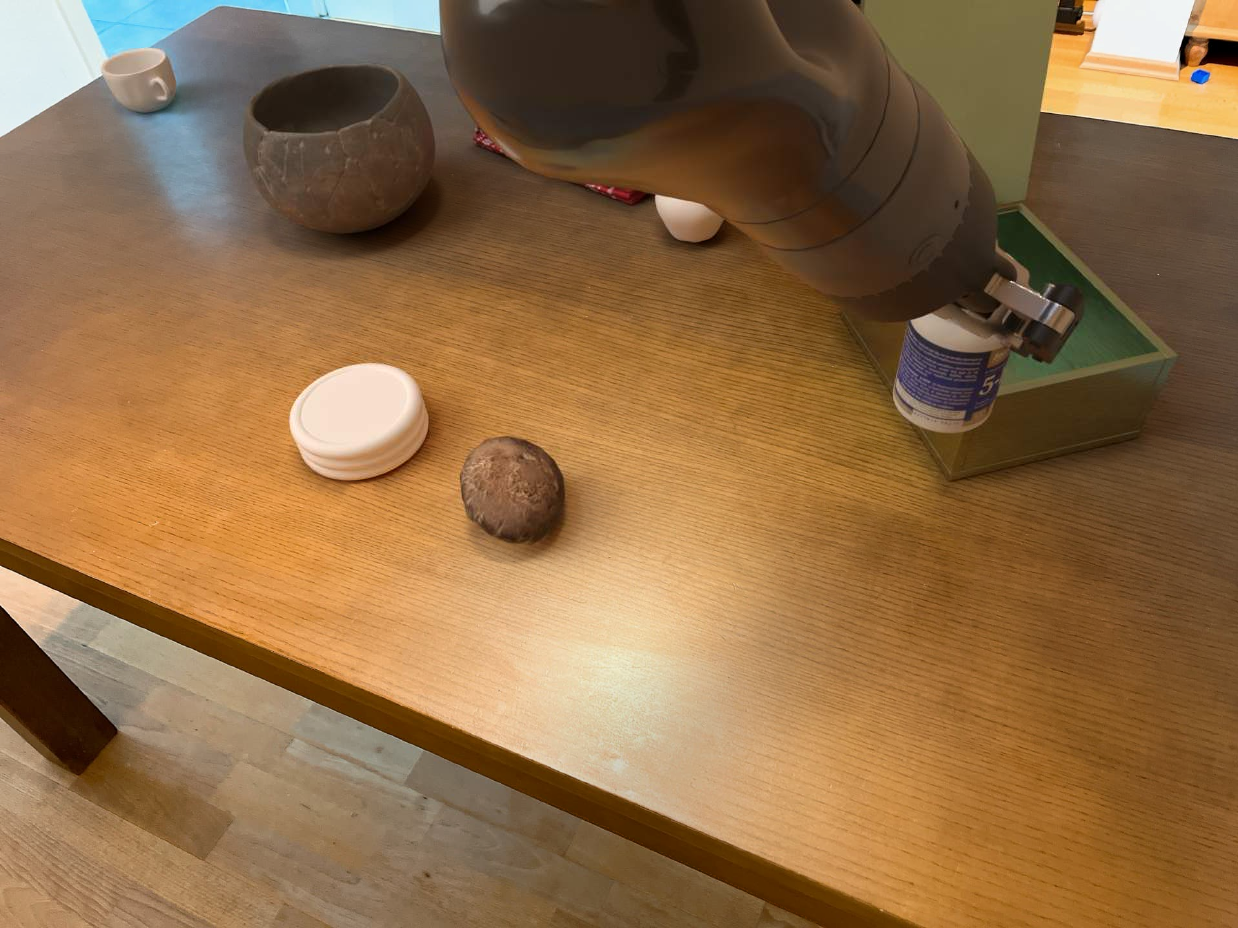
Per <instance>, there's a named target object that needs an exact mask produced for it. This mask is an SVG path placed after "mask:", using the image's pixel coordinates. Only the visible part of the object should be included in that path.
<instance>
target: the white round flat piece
mask: <svg viewBox="0 0 1238 928" xmlns="http://www.w3.org/2000/svg"><path fill="white" fill-rule="evenodd" d="M288 420H289V422H288V423H289V430H290V433H291V437H292V438H293V441H295V445H296V447H297V449H298V451H299V452H300V456H301V457H302V460H303V461H304V462H305V464H306V465H307V466H308V467H309V468H311V470H313V471H314V472H315V473H317V474H319V475H321V476H323V477H326V478H329V479H333V480H339V481H340V480H341V481H358V480H359V481H360V480H366V479H370V478H374V477H377V476H381V475H384V474H386V473H388V472H390V471H392V470H394V469H396V468H398V467H399V466H401V465H402V464H404V463H405V462H407V461H408V460H409V459H410V458H412V457H413V456H414V455H415V454H416V453H417V452H418V451H419V449H420V448H421V446H422V445H423V444H424V442H425V440H426V437H427V434H428V432H429V431H428V429H429V424H430V423H429V414H428V410H427V408H426V404H425V401H424V398H423V395H422V391H421V388H420V386H419V384H418V383H417V381H416V380H415V379H414V378H413V377H412V376H411V374H409V373H408V372H406V371H405V370H403V369H401V368H399V367H396V366H393V365H390V364H384V363H376V362H373V363H372V362H368V363H367V362H366V363H358V364H352V365H346V366H343V367H341V368H338V369H335V370H332V371H330V372H328V373H326V374H324V375H322V376H321V377H319V378H317V379H316V380H314V381H313V382H311V383H310V384H309V385H308V386H307V387H306V388H304V390H302V392H301V393H300V394H299V396H298V397H297V398H296V400H294V402H293V405H292V407H291V409H290V413H289V419H288Z"/></svg>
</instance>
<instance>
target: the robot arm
mask: <svg viewBox="0 0 1238 928" xmlns="http://www.w3.org/2000/svg"><path fill="white" fill-rule="evenodd" d="M438 5H439V6H438V13H439V14H438V15H439V31H440V43H441V50H442V55H443V59H444V64H445V68H446V72H447V74H448V77H449V79H450V82H451V85H452V87H453V90H454V92H455V94H456V96H457V97H458V99H459V100H460V103H461V104H462V106H463V108H464V110H465V111H466V112H467V114H468V115H469V116H470V118H471V119H472V120H473V122H474V123H475V124H476V127H477V126H478V127H479V128H480V129H481V130H482V131H483V133H484V134H485V135H486V136H487V137H488V138H489V139H490V140H491V142H492V143H493V144H495V145H496V146H497V147H498V148H499V149H500V150H501V151H502V152H504V153H505V154H506V155H507V156H506V157H508V158H509V159H511V160H512V161H514V162H515V163H517V164H518V165H519V166H521V167H523V168H525V169H526V170H529V171H531V172H533V173H536V174H538V175H540V176H543V177H545V178H549V179H554V180H559V181H564V182H568V183H569V182H570V183H574V184H576V183H582V184H589V185H598V186H607V187H616V188H624V189H630V190H636V191H642V192H646V193H647V194H651V195H655V196H656V195H660V196H664V197H670V198H675V199H679V200H685V201H690V202H695V203H699V204H703V205H704V206H706V207H707V208H708V209H710V210H711V211H713V212H714V213H716V214H717V215H719V216H720V217H722V218H723V219H724V221H726V222H727V223H729V224H730V225H732V226H733V227H734V228H737V230H739V231H741V232H742V233H743V234H745V235H746V236H747V237H748V238H750V240H751V241H752V242H753V243H754V244H755V246H757V247H758V249H759V250H760V251H761V252H762V253H763V254H764V255H765V256H766V257H767V258H768V259H769V260H771V261H772V262H773V263H774V264H776V265H777V266H778V267H780V268H781V269H783V271H786V273H789V274H790V275H791V276H793V277H794V278H796V279H798V280H799V281H801V282H802V283H804V284H805V285H806V286H808V287H809V288H811V289H812V290H813V291H815V292H817V293H818V294H820V295H821V296H823V297H824V298H825V299H828V300H829V301H830V302H832V303H833V304H835V305H836V306H838V307H839V308H840V309H841V308H842V309H844V310H845V311H847V312H849V313H851V314H853V315H855V316H857V317H860V318H862V319H866V320H869V321H875V322H883V323H895V322H904V321H909V320H913V319H917V318H920V317H923V316H926V315H928V314H931V313H932V314H934V315H936V316H938V317H940V318H942V319H949V320H951V321H952V322H954V323H955V324H957V325H958V326H960V327H961V328H962V329H964V330H966V331H968V332H971V333H973V334H975V335H977V336H979V337H981V338H984V339H987V338H989V337H991V336H992V335H993V336H995V337H996V338H997V339H999V340H1001V341H1000V343H1001V344H1002V345H1004V346H1006V347H1008V348H1009V349H1011V350H1012V351H1013V352H1015V353H1017V354H1019V355H1020V356H1022V357H1024V358H1027V357H1028V356H1029V355H1030V354H1031V355H1033V356H1032V357H1031V358H1032V359H1034V360H1036V361H1037V362H1039V363H1042V362H1043V361H1044V362H1046V363H1048V364H1051V363H1052V362H1053V360H1054V359H1055V357H1056V356H1057V355H1058V353H1059V352H1060V350H1061V349H1062V347H1063V346H1064V344H1065V343H1066V341H1067V340H1068V339H1069V337H1070V336H1071V334H1072V333H1073V331H1074V330H1075V328H1076V327H1077V325H1078V324H1079V323H1080V321H1081V320H1082V318H1083V317H1084V310H1085V304H1086V296H1084V295H1083V294H1082V293H1080V292H1079V291H1080V289H1078V288H1077V287H1075V286H1073V285H1071V284H1068V285H1064V284H1061V283H1058V284H1057V285H1056V286H1054V285H1052V284H1050V283H1048V284H1046V286H1045V287H1044V289H1043V290H1042V292H1041V293H1039V292H1036V291H1034V290H1033V289H1032V288H1030V287H1029V285H1028V281H1029V271H1028V270H1027V269H1025V268H1024V267H1023V266H1022V265H1020V264H1019V263H1018V262H1017V261H1015V260H1014V259H1013V258H1011V257H1010V256H1009V255H1008V254H1006V253H1005V252H1004V251H1003V250H1001V249H1000V248H999V247H998V241H997V238H996V237H997V222H998V212H997V208H998V205H997V202H996V197H995V193H994V190H993V187H992V184H991V182H990V180H989V178H988V176H987V175H986V173H985V171H984V170H983V168H982V167H981V166H980V164H979V163H978V161H977V160H976V158H975V157H974V155H973V154H972V152H971V151H970V150H969V148H968V147H967V145H966V144H965V142H964V141H963V139H962V138H961V136H960V135H959V134H958V132H957V131H956V129H955V128H954V126H953V125H952V123H951V122H950V120H949V119H948V118H947V116H946V115H945V113H944V112H943V110H942V109H941V107H940V106H939V105H938V103H937V102H936V101H935V99H934V98H933V97H932V96H931V94H930V93H929V92H928V91H927V90H926V89H925V88H924V87H923V86H922V85H921V84H920V83H919V82H918V81H916V80H915V79H914V78H913V77H912V76H911V75H909V74H908V73H907V72H906V71H904V69H903V68H902V67H901V65H900V64H899V63H898V61H897V60H896V58H895V57H894V55H893V54H892V53H891V51H890V50H889V48H888V47H887V46H886V44H885V43H884V41H883V40H882V38H881V37H880V36H879V34H878V33H877V31H876V30H875V29H874V27H873V26H872V25H871V23H870V22H869V20H868V19H867V17H866V16H865V15H864V14H863V13H862V12H861V10H860V7H858V6H857V5H856V3H854V1H853V0H438ZM960 308H961V309H960ZM962 309H965V310H970V311H968V312H967V313H966V312H965V311H963V310H962ZM1008 310H1011V312H1010V314H1009V315H1008V317H1007V318H1006V320H1005V321H1004V323H1003V324H1002V320H1003V318H1004V316H1005V314H1006V313H1007V311H1008Z"/></svg>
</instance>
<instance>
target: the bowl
mask: <svg viewBox="0 0 1238 928" xmlns="http://www.w3.org/2000/svg"><path fill="white" fill-rule="evenodd" d="M242 133H243V134H242V143H243V145H242V146H243V147H242V148H243V152H244V158H245V161H246V165H247V169H248V172H249V174H250V177H251V179H252V182H253V184H254V186H255V188H256V189H257V191H258V192H259V194H260V196H261V197H262V198H263V199H264V201H265V202H266V203H267V204H268V205H269V206H270V207H271V208H272V209H274V211H276V212H277V213H278V214H280V215H281V216H283V217H284V218H287V219H288V220H291V221H292V222H295V223H297V224H300V225H302V226H304V227H307V228H308V229H311V230H316V231H318V232H319V231H320V232H324V233H330V234H355V233H356V234H357V233H362V232H368V231H370V230H374V229H377V228H380V227H382V226H385V225H386V224H388V223H390V222H391V221H394V220H395V219H396V218H398V217H399V216H401V215H402V214H404V213H405V212H406V211H407V210H408V209H410V207H411V206H412V205H413V204H414V203H415V202H416V201H417V200H418V198H419V197H420V196H421V195H422V193H423V191H424V190H425V188H426V187H427V185H428V183H429V181H430V180H431V179H430V178H431V175H432V174H433V173H432V172H433V169H434V164H435V161H436V160H435V159H436V140H435V133H434V128H433V124H432V122H431V117H430V115H429V113H428V110H427V108H426V106H425V104H424V102H423V100H422V98H421V96H420V94H419V93H418V92H417V89H416V88H415V87H414V86H413V84H412V83H411V82H410V81H409V79H408V78H407V77H406V76H405V75H404V74H403V73H401V72H400V71H399V70H397V69H396V68H394V67H392V66H389V65H386V64H382V63H377V62H347V63H346V62H345V63H334V64H327V65H322V66H321V65H320V66H317V67H313V68H308V69H304V70H301V71H298V72H294V73H291V74H288V75H285V76H281V77H280V78H277V79H275V80H272V81H271V82H270V83H268V84H266V85H265V86H263V87H261V88H260V89H259V90H258V91H256V92H255V93H254V95H252V97H251V98H250V100H249V101H248V104H247V107H246V111H245V116H244V121H243V132H242Z"/></svg>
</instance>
